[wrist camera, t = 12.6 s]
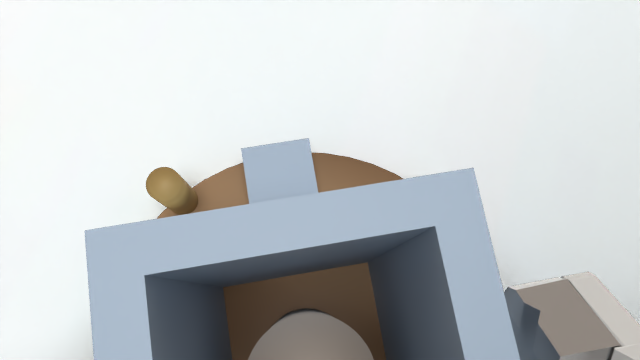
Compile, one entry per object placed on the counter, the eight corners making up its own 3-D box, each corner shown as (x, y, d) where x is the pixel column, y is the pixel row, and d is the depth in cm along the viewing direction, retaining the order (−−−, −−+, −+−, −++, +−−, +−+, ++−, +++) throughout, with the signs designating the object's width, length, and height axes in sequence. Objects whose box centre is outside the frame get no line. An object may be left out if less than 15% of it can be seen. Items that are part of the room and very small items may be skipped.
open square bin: (430, 440, 15) (579, 602, 7) (218, 483, 14) (119, 708, 6) (369, 140, 17) (431, -2, 9) (181, 169, 16) (71, 46, 8)
